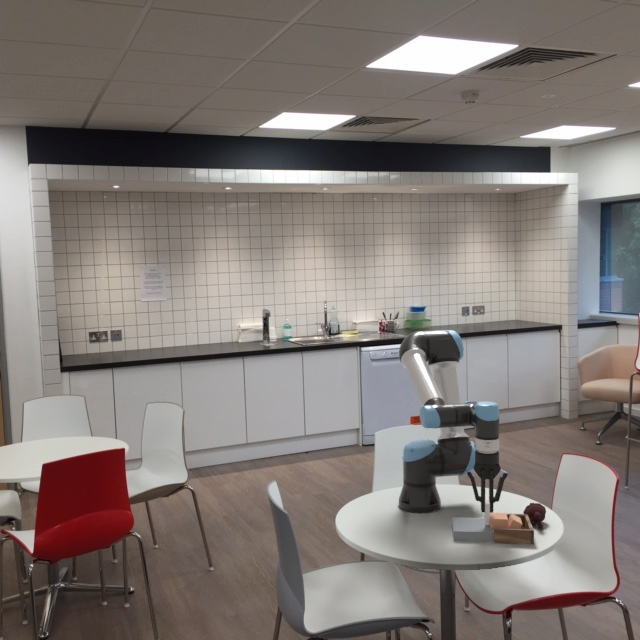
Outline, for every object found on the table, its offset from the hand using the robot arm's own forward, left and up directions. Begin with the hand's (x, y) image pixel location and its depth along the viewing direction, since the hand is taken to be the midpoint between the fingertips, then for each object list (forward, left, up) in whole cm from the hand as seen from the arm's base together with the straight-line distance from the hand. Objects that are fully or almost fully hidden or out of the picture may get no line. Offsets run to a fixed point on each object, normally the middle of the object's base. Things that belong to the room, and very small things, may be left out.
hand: (487, 521), depth 227 cm
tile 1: (0, +3, -1) cm, 4 cm away
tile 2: (0, +7, 0) cm, 7 cm away
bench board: (0, -5, -4) cm, 6 cm away
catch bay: (0, +8, -4) cm, 9 cm away
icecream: (-12, +17, -5) cm, 21 cm away
